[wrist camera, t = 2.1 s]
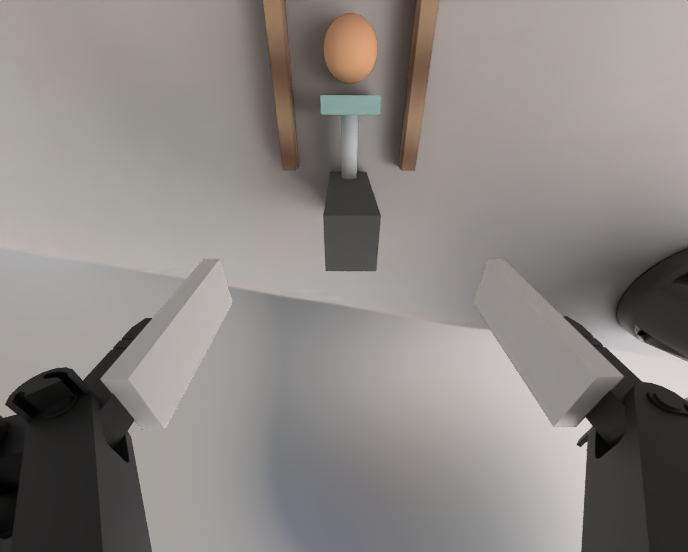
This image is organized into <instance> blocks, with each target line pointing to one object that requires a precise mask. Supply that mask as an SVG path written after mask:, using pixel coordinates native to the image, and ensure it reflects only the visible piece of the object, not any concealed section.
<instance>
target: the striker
mask: <svg viewBox="0 0 688 552" xmlns="http://www.w3.org/2000/svg"><path fill="white" fill-rule="evenodd" d="M320 102H321V115H341V172H331V175H330V181H329V186H328V192H327V198H326V203H325V209H324V215H323V219H324V242H325V266H326V271H376V267H377V255H378V242H379V230H380V218H381V215H380V212H379V209H378V206H377V203H376V200H375V197H374V194H373V191H372V188H371V185H370V182H369V179H368V176H367V173H366V172H357V147H358V115H380V106H381V95H320Z"/></svg>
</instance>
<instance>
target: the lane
mask: <svg viewBox="0 0 688 552" xmlns="http://www.w3.org/2000/svg"><path fill="white" fill-rule="evenodd" d="M438 4H439V0H416V6H415V15H414V24H413V34H412V43H411V52H410V61H409V71H408V80H407V89H406V98H405V108H404V117H403V126H402V135H401V145H400V154H399V163H398V167H399V168H400V169H401V170H402V171H415V166H416V159H417V152H418V145H419V138H420V131H421V124H422V117H423V110H424V103H425V96H426V89H427V82H428V75H429V68H430V60H431V53H432V46H433V39H434V32H435V25H436V18H437V11H438ZM263 5H264V13H265V22H266V30H267V39H268V47H269V56H270V64H271V72H272V81H273V89H274V98H275V106H276V115H277V123H278V132H279V140H280V148H281V157H282V165H283V170H297V168H298V167H299V159H298V148H297V136H296V124H295V113H294V101H293V89H292V78H291V66H290V55H289V43H288V31H287V20H286V8H285V0H263Z"/></svg>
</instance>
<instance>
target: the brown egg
mask: <svg viewBox="0 0 688 552" xmlns="http://www.w3.org/2000/svg"><path fill="white" fill-rule="evenodd" d="M376 56H377V39H376V35H375V32H374V30H373V28H372V26H371V24H370V23H369V22H368V21H367V20H366V19H365V18H364V17H362V16H360V15H358V14H355V13H347V14H344V15H341V16H339V17H338V18H337V19H336V20H334V21H333V23H332V24H331V25H330V27H329V29H328V31H327V33H326V36H325V40H324V57H325V62H326V65H327V67H328V69H329V71H330V72H331V74H332V75H333V76H334V77H335V78H336V79H337V80H339V81H341V82H343V83H347V84H353V83H357V82H359V81H361V80H363V79H364V78H365V77H366V76H367V75H368V74H369V73H370V72H371V70H372V68H373V66H374V64H375V61H376Z"/></svg>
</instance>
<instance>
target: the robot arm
mask: <svg viewBox="0 0 688 552" xmlns="http://www.w3.org/2000/svg"><path fill="white" fill-rule="evenodd" d="M232 303H233V302H232V299H231V296H230V292H229V289H228V285H227V282H226V279H225V275H224V272H223V268H222V265H221V262H220V259H203V260H202V262H201V263H200V264H199V265H198V266H197V267H196V269H195V270H194V271H193V272H192V273H191V274H190V276H189V277H188V278H187V279H186V280H185V281H184V282H183V284H182V285H181V286H180V287H179V288H178V289H177V291H176V292H175V293H174V294H173V295H172V296H171V298H170V299H169V300H168V301H167V302H166V303H165V305H164V306H163V307H162V308H161V309H160V310H159V311H158V313H157V314H156V315H155V316H154V317H153V318H145V319H144V320H142V321H141V322H139V323H138V324H136V325H135V326H133V327H132V328H131V329H130V330H129V331H128V332H127V333H126V334H125V336H124V337H123V338H122V340H121V341H119V342H118V343H117V344H116V345H115V346H114V349H113V350H111V351H110V352H109V353H108V354H107V355H106V356H105V357H104V358H103V359H102V361H101V362H100V363H99V364H98V365H97V366H96V367H95V368H94V369H93V370H92V372H91V373H90V374H89V375H88V376H87V377H86V378H85V379H84V380H83V381H82V379H81V378H80V377H79V376H78V375H77V374H76V373H75V372H74V370H73V369H69V368H66V367H65V368H56V369H52V370H49V371H46V372H43V373H41V374H39V375H37V376H35V377H33V378H31V379H29V380H28V381H26V382H25V383H23V384H22V385H21V386H19V387H18V388H17V389H16V390H15V391H14V392H13V393H12V394H11V395H10V396H9V398H8V400H7V402H6V404H5V405H6V406H8V407H9V408H10V409H11V410H13V411H14V412H15V413H16V414H17V415H13V416H9V417H6V418H3V417H1V416H0V552H152V550H151V544H150V538H149V533H148V528H147V522H146V516H145V511H144V505H143V500H142V494H141V489H140V483H139V478H138V472H137V467H136V462H135V456H134V451H133V445H132V439H131V436H130V435H129V433H128V429H129V428H130V426H131V425H132V423H133V422H134V421H135V422H136V423H137V424H138V426H139V427H140V428H141V429H142V430H165V429H166V427H167V425H168V423H169V421H170V419H171V417H172V416H173V413H174V412H175V410H176V408H177V406H178V404H179V402H180V400H181V399H182V396H183V395H184V393H185V391H186V389H187V387H188V386H189V384H190V382H191V380H192V378H193V376H194V374H195V372H196V371H197V369H198V367H199V365H200V363H201V361H202V359H203V357H204V356H205V354H206V352H207V350H208V348H209V346H210V344H211V343H212V340H213V339H214V337H215V335H216V333H217V331H218V329H219V328H220V325H221V324H222V322H223V320H224V318H225V316H226V314H227V313H228V311H229V309H230V307H231V305H232ZM473 304H474V305H475V307H476V308H477V310H478V311H479V313H480V314H481V316H482V318H483V319H484V321H485V322H486V324H487V325H488V327H489V328H490V330H491V331H492V333H493V334H494V336H495V337H496V339H497V341H498V342H499V344H500V345H501V347H502V348H503V350H504V351H505V353H506V354H507V356H508V357H509V359H510V361H511V362H512V364H513V365H514V367H515V368H516V370H517V371H518V373H519V374H520V376H521V377H522V379H523V380H524V382H525V384H526V385H527V387H528V388H529V390H530V391H531V393H532V394H533V396H534V397H535V399H536V400H537V402H538V403H539V405H540V407H541V408H542V410H543V411H544V413H545V414H546V416H547V417H548V419H549V420H550V422H551V424H552V425H553V427H576V426H577V425H578V424H579V423H580V422H581V421H582V420H583V419H584V418H585V417H586V418H587V419H588V420H589V422H590V423H591V424H592V426H593V427H592V428H591V429H590V430H589V431H588V432H587V433H585V434H584V435H583V436H582V437H581V438H580V440H579V441H578V443H577V445H578V446H580V447H581V446H582V445H583V444H584V443H585V442H588V445H587V464H586V480H585V498H584V517H583V533H582V534H583V535H582V551H581V552H688V398H686V399H683V398H681V397H680V396H678V395H677V394H676V393H674V392H672V391H670V390H668V389H666V388H664V387H662V386H659V385H656V384H653V383H646V382H642V381H641V380H639V378H637V377H636V376H635V375H634V374H633V373H632V372H631V371H630V370H629V369H628V368H627V367H626V366H625V365H624V364H623V363H621V362H620V361H619V360H618V359H617V358H616V357H615V356H614V355H613V354H612V353H611V352H610V351H609V350H608V349H607V348H605V347H603V345H602V344H601V343H600V342H599V341H598V340H597V339H596V338H593V335H592V334H590V333H589V332H588V331H587V330H586V329H585V328H584V327H583V326H582V325H580V324H579V323H577V322H575V321H574V320H572V319H570V318H569V317H567V316H562V315H561V314H560V313H559V312H558V311H557V310H556V309H554V308H553V307H552V306H551V305H550V304H549V303H548V302H547V301H546V300H545V299H544V298H543V297H542V296H541V295H540V294H539V293H538V292H537V291H536V290H535V289H534V288H533V287H532V286H531V285H530V284H529V283H528V282H527V281H526V280H525V279H524V278H523V277H522V276H521V275H520V274H519V273H518V272H517V271H516V270H515V269H513V268H512V267H511V266H510V265H509V264H508V263H507V262H506V261H505V260H504V259H488V261H487V264H486V267H485V269H484V272H483V275H482V278H481V281H480V284H479V286H478V289H477V292H476V295H475V298H474V300H473ZM617 319H618V322H619V324H620V325H621V326H622V327H623V328H624V329H625V330H627V331H628V332H629V333H630V334H632V335H633V336H634V337H636V338H637V339H639V340H640V341H642V342H645V343H647V344H649V345H651V346H654V347H656V348H658V349H660V350H663V351H665V352H667V353H669V354H672V355H674V356H676V357H679V358H681V359H683V360H685V361H688V249H687V250H684V251H682V252H680V253H678V254H675V255H673V256H671V257H669V258H668V259H666V260H664V261H662V262H661V263H659V264H657V265H656V266H654V267H653V268H651V269H650V270H649V271H647V272H646V273H645V274H643V275H642V276H641V277H640V278H639V279H638V280H637V281H635V282H634V283H633V285H632V286H631V287H630V288H629V289H628V290H627V291H626V293H625V294H624V296H623V297H622V299H621V301H620V303H619V305H618V309H617Z"/></svg>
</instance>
